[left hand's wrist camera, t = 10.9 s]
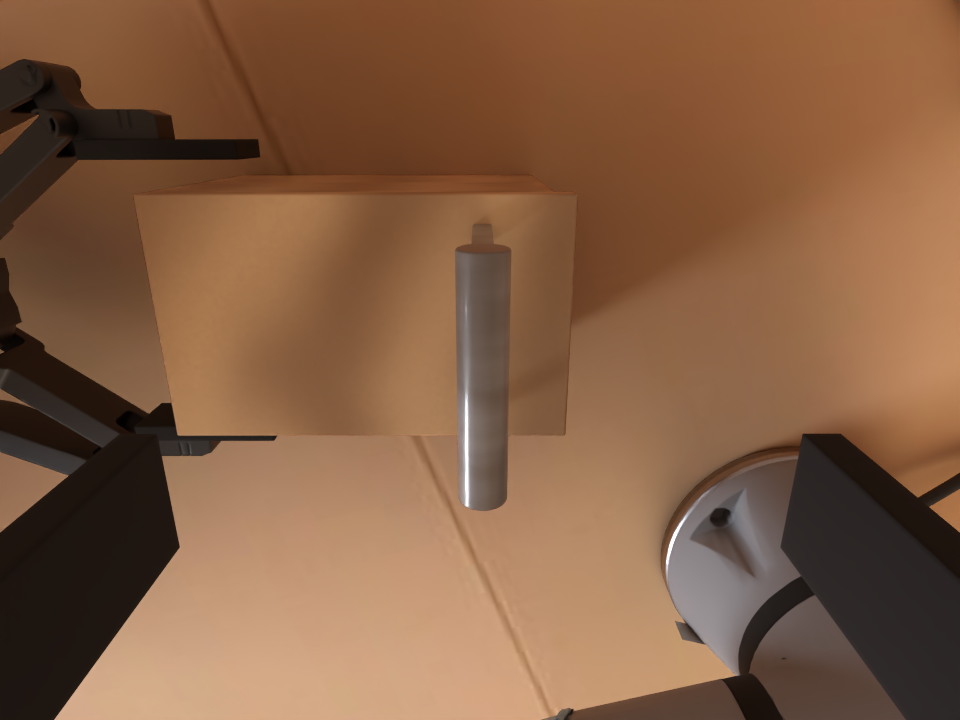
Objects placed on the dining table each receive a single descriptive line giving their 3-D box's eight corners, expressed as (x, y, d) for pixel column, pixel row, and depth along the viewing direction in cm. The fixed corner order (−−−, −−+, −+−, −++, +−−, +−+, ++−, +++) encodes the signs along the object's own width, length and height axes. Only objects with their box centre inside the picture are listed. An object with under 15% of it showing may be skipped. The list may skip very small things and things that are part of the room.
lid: (574, 191, 23) (618, 218, 16) (562, 426, 27) (594, 536, 19) (144, 191, 23) (-10, 217, 16) (186, 426, 27) (76, 536, 19)
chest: (532, 175, 33) (555, 191, 23) (528, 348, 36) (545, 426, 27) (243, 175, 33) (145, 191, 23) (265, 348, 36) (187, 426, 27)
